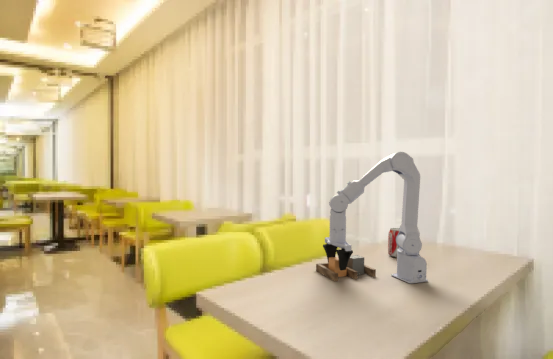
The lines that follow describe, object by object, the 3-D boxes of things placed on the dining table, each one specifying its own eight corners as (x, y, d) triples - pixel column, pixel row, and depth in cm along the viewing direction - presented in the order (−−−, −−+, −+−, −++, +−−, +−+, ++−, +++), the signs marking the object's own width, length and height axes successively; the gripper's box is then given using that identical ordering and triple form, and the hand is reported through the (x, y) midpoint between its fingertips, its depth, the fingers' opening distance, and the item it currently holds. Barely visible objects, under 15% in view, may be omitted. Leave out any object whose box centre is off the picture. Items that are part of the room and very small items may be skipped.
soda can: (402, 259, 142) (402, 231, 142) (385, 256, 146) (386, 229, 146) (406, 255, 148) (407, 229, 147) (390, 253, 152) (391, 227, 152)
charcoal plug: (364, 274, 120) (364, 257, 120) (352, 275, 118) (352, 258, 118) (357, 270, 124) (357, 254, 124) (346, 272, 122) (346, 255, 122)
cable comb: (375, 276, 117) (375, 269, 117) (334, 281, 111) (335, 274, 111) (353, 266, 129) (353, 260, 129) (316, 270, 123) (316, 263, 123)
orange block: (346, 276, 118) (346, 259, 117) (334, 277, 116) (334, 260, 116) (340, 272, 121) (340, 256, 121) (328, 274, 119) (328, 257, 119)
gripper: (317, 226, 123) (317, 262, 124) (339, 233, 110) (338, 273, 110) (334, 225, 126) (333, 260, 126) (357, 231, 112) (356, 271, 113)
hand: (336, 266), depth 118 cm, fingers open, 7 cm apart
